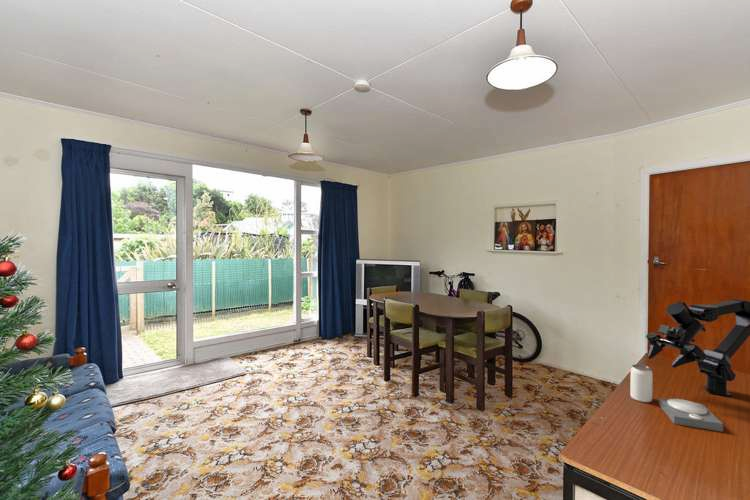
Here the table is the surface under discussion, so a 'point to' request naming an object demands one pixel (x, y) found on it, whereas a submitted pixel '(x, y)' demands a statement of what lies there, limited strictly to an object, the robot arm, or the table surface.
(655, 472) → the table surface
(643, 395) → the can
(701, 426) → the scale
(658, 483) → the table surface
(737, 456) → the table surface
